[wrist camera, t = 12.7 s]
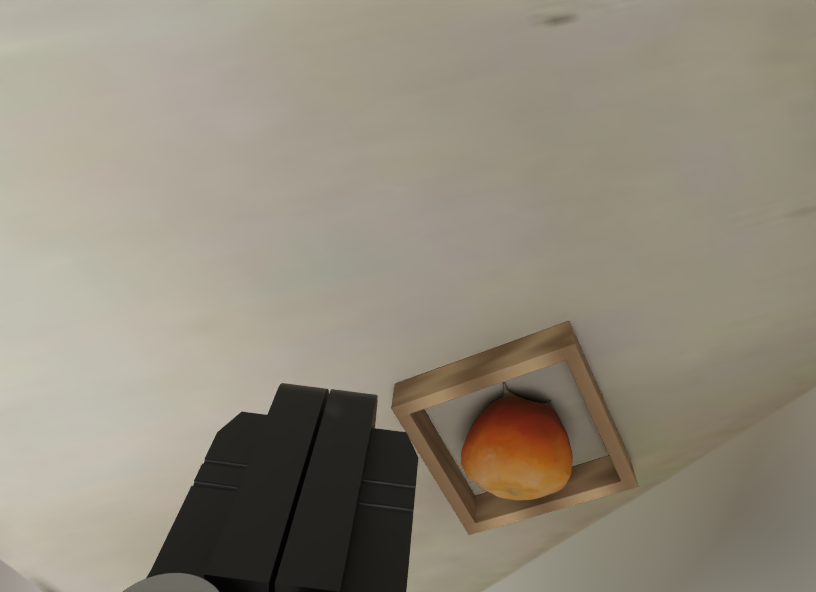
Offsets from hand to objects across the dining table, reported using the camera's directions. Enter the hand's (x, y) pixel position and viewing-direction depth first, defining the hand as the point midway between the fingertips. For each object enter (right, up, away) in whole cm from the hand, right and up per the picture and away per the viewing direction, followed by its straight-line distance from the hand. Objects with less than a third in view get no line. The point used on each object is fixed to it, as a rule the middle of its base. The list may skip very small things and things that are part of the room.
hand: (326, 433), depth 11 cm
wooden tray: (+10, -8, +43) cm, 45 cm away
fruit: (+10, -8, +44) cm, 45 cm away
